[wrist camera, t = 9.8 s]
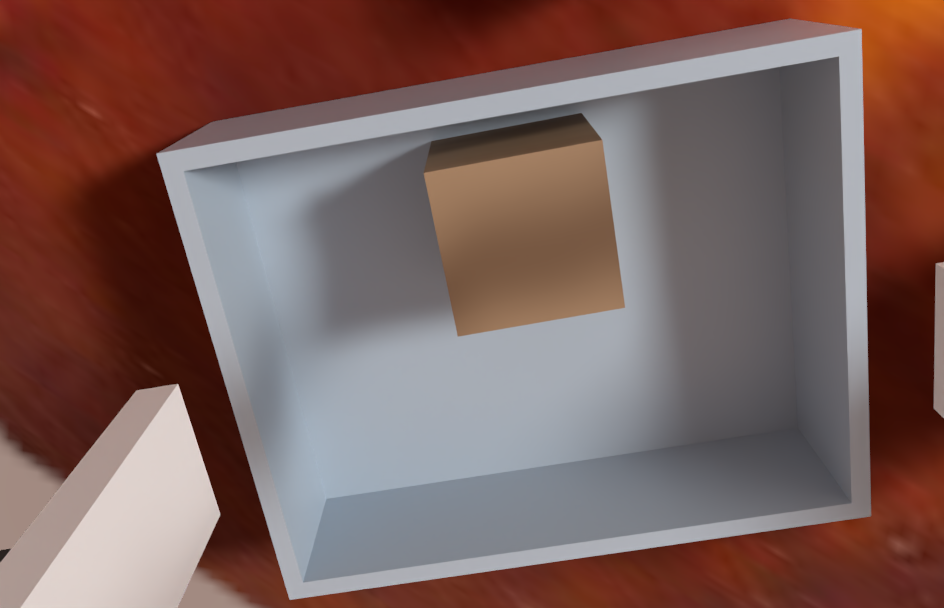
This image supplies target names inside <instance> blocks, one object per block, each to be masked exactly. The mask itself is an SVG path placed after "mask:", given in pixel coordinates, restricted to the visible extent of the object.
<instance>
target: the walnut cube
mask: <svg viewBox="0 0 944 608" xmlns="http://www.w3.org/2000/svg"><path fill="white" fill-rule="evenodd" d="M424 178H425V182H426V187H427V192H428V197H429V201H430V206H431V211H432V216H433V221H434V225H435V230H436V235H437V240H438V245H439V249H440V254H441V259H442V264H443V268H444V273H445V278H446V283H447V288H448V292H449V297H450V302H451V307H452V312H453V316H454V321H455V326H456V331H457V335H458V337H459V336H465V335H471V334H476V333H482V332H488V331H494V330H500V329H505V328H511V327H517V326H523V325H528V324H534V323H540V322H546V321H552V320H557V319H563V318H569V317H575V316H580V315H586V314H592V313H598V312H604V311H609V310H615V309H621V308H625V302H624V295H623V288H622V280H621V273H620V266H619V258H618V251H617V244H616V236H615V229H614V222H613V214H612V207H611V200H610V192H609V185H608V177H607V170H606V163H605V155H604V148H603V141H602V139H601V137H600V136H599V135H598V134H597V132H596V131H595V130H594V128H593V127H592V126H591V125H590V123H589V122H588V121H587V119H586V118H585V117H584V115H583V114H582V113H578V114H573V115H567V116H562V117H557V118H551V119H546V120H541V121H536V122H530V123H525V124H520V125H514V126H509V127H504V128H498V129H493V130H488V131H482V132H477V133H472V134H466V135H461V136H456V137H450V138H445V139H440V140H435V141H431V145H430V149H429V153H428V157H427V161H426V165H425V169H424Z"/></svg>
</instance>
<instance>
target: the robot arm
mask: <svg viewBox="0 0 944 608" xmlns="http://www.w3.org/2000/svg"><path fill="white" fill-rule="evenodd" d="M934 409H935V410H936V411H937V412H938V413H939V414H940V415H941V416H942V417H943V418H944V262H942V263H936V278H935V347H934ZM219 516H220V511H219V508H218V505H217V502H216V499H215V496H214V493H213V490H212V487H211V484H210V481H209V477H208V474H207V471H206V468H205V465H204V462H203V459H202V456H201V453H200V450H199V447H198V444H197V440H196V437H195V434H194V431H193V428H192V425H191V422H190V419H189V416H188V413H187V410H186V407H185V404H184V400H183V397H182V394H181V391H180V388H179V385H178V384H174V385H167V386H161V387H155V388H148V389H142V390H136V392H135V393H134V394H133V395H132V397H131V398H130V399H129V400H128V402H127V403H126V404H125V405H124V407H123V408H122V409H121V410H120V412H119V413H118V414H117V416H116V417H115V418H114V419H113V421H112V422H111V423H110V424H109V426H108V427H107V428H106V429H105V431H104V432H103V433H102V435H101V436H100V437H99V438H98V440H97V441H96V442H95V443H94V445H93V446H92V447H91V448H90V450H89V451H88V452H87V454H86V455H85V456H84V457H83V459H82V460H81V461H80V462H79V464H78V465H77V466H76V467H75V469H74V470H73V471H72V472H71V474H70V475H69V476H68V478H67V479H66V480H65V481H64V483H63V484H62V485H61V486H60V488H59V489H58V490H57V491H56V493H55V494H54V495H53V497H52V498H51V499H50V500H49V502H48V503H47V504H46V505H45V507H44V508H43V509H42V510H41V512H40V513H39V514H38V516H37V517H36V518H35V519H34V521H33V522H32V523H31V524H30V526H29V527H28V528H27V529H26V531H25V532H24V533H23V534H22V536H21V537H20V538H19V540H18V541H17V542H16V543H15V545H14V546H13V547H12V548H11V549H6V550H1V551H0V608H178V606H179V603H180V601H181V599H182V597H183V595H184V593H185V590H186V588H187V586H188V584H189V582H190V579H191V577H192V575H193V573H194V571H195V569H196V566H197V564H198V562H199V560H200V558H201V556H202V553H203V551H204V549H205V547H206V545H207V543H208V540H209V538H210V536H211V534H212V532H213V530H214V527H215V525H216V523H217V521H218V519H219Z"/></svg>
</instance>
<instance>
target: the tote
mask: <svg viewBox="0 0 944 608" xmlns="http://www.w3.org/2000/svg"><path fill="white" fill-rule="evenodd" d="M578 113H582V114H583V115H584V117H585V118H586V119H587V121H588V122H589V123H590V125H591V126H592V127H593V128H594V130H595V131H596V132H597V134H598V135H599V136H600V137H601V139H602V141H603V148H604V155H605V163H606V170H607V177H608V185H609V192H610V200H611V207H612V214H613V222H614V229H615V236H616V244H617V251H618V258H619V266H620V273H621V280H622V288H623V295H624V302H625V308H621V309H615V310H609V311H604V312H598V313H592V314H586V315H580V316H575V317H569V318H563V319H557V320H552V321H546V322H540V323H534V324H528V325H523V326H517V327H511V328H505V329H500V330H494V331H488V332H482V333H476V334H471V335H465V336H459V337H458V335H457V331H456V326H455V321H454V316H453V312H452V307H451V302H450V297H449V292H448V288H447V283H446V278H445V273H444V268H443V264H442V259H441V254H440V249H439V245H438V240H437V235H436V230H435V225H434V221H433V216H432V211H431V206H430V201H429V197H428V192H427V187H426V182H425V178H424V169H425V165H426V161H427V157H428V153H429V149H430V145H431V141H435V140H440V139H445V138H450V137H456V136H461V135H466V134H472V133H477V132H482V131H488V130H493V129H498V128H504V127H509V126H514V125H520V124H525V123H530V122H536V121H541V120H546V119H551V118H557V117H562V116H567V115H573V114H578ZM156 155H157V158H158V161H159V165H160V168H161V171H162V175H163V178H164V181H165V185H166V188H167V191H168V195H169V198H170V201H171V205H172V208H173V211H174V215H175V218H176V221H177V225H178V228H179V231H180V235H181V238H182V241H183V245H184V248H185V251H186V255H187V258H188V261H189V265H190V268H191V272H192V275H193V278H194V282H195V285H196V288H197V292H198V295H199V298H200V302H201V305H202V308H203V312H204V315H205V318H206V322H207V325H208V328H209V332H210V335H211V338H212V342H213V345H214V348H215V352H216V355H217V358H218V362H219V365H220V368H221V372H222V375H223V378H224V382H225V385H226V388H227V392H228V395H229V399H230V402H231V405H232V409H233V412H234V415H235V419H236V422H237V425H238V429H239V432H240V435H241V439H242V442H243V445H244V449H245V452H246V455H247V459H248V462H249V465H250V469H251V472H252V475H253V479H254V482H255V485H256V489H257V492H258V495H259V499H260V502H261V505H262V509H263V512H264V515H265V519H266V522H267V526H268V529H269V532H270V536H271V539H272V542H273V546H274V549H275V552H276V556H277V559H278V562H279V566H280V569H281V572H282V576H283V579H284V582H285V586H286V589H287V592H288V596H289V599H290V600H292V599H299V598H306V597H313V596H320V595H327V594H334V593H340V592H347V591H354V590H361V589H368V588H375V587H382V586H389V585H396V584H403V583H410V582H417V581H424V580H431V579H438V578H445V577H452V576H459V575H466V574H473V573H480V572H487V571H494V570H501V569H508V568H514V567H521V566H528V565H535V564H542V563H549V562H556V561H563V560H570V559H577V558H584V557H591V556H598V555H605V554H612V553H619V552H626V551H633V550H640V549H647V548H654V547H661V546H668V545H675V544H682V543H688V542H695V541H702V540H709V539H716V538H723V537H730V536H737V535H744V534H751V533H758V532H765V531H772V530H779V529H786V528H793V527H800V526H807V525H814V524H821V523H828V522H835V521H842V520H849V519H856V518H862V517H869V516H871V486H870V435H869V384H868V332H867V281H866V230H865V179H864V127H863V76H862V29H858V28H851V27H844V26H837V25H830V24H823V23H816V22H810V21H803V20H796V19H786V20H780V21H774V22H769V23H763V24H758V25H752V26H746V27H741V28H735V29H730V30H724V31H718V32H713V33H707V34H701V35H696V36H690V37H685V38H679V39H673V40H668V41H662V42H657V43H651V44H645V45H640V46H634V47H629V48H623V49H617V50H612V51H606V52H601V53H595V54H589V55H584V56H578V57H573V58H567V59H561V60H556V61H550V62H544V63H539V64H533V65H528V66H522V67H516V68H511V69H505V70H500V71H494V72H488V73H483V74H477V75H472V76H466V77H460V78H455V79H449V80H444V81H438V82H432V83H427V84H421V85H416V86H410V87H404V88H399V89H393V90H387V91H382V92H376V93H371V94H365V95H359V96H354V97H348V98H343V99H337V100H331V101H326V102H320V103H315V104H309V105H303V106H298V107H292V108H287V109H281V110H275V111H270V112H264V113H259V114H253V115H247V116H242V117H236V118H230V119H225V120H219V121H214V122H211V123H209V124H207V125H206V126H204V127H202V128H200V129H199V130H197V131H195V132H193V133H192V134H190V135H188V136H186V137H185V138H183V139H181V140H179V141H178V142H176V143H174V144H172V145H171V146H169V147H167V148H165V149H164V150H162V151H160V152H158V153H157V154H156Z"/></svg>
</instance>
